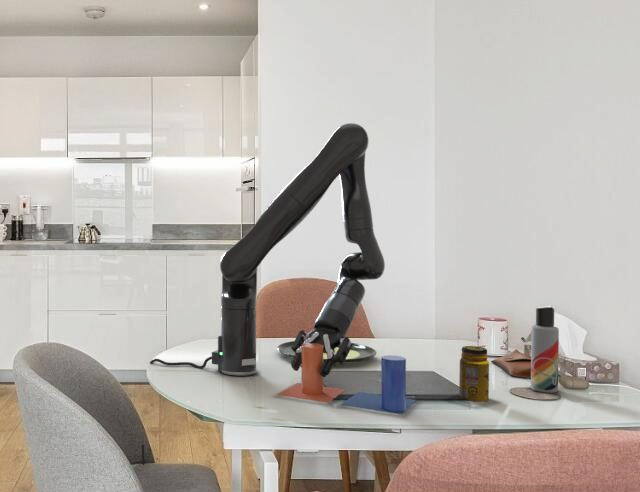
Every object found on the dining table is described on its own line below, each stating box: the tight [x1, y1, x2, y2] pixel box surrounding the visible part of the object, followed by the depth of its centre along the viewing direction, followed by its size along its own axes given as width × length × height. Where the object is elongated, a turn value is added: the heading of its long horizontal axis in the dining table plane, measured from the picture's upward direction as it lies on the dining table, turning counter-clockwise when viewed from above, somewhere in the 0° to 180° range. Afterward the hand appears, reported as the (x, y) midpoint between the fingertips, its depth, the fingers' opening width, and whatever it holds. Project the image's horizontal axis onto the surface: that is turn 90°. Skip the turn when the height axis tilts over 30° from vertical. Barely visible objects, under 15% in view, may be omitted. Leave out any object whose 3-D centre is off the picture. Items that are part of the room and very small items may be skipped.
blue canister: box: [380, 354, 407, 413], centre depth 153 cm, size 5×5×11 cm
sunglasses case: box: [490, 349, 531, 379], centre depth 191 cm, size 18×7×7 cm
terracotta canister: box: [300, 343, 324, 395], centre depth 167 cm, size 5×5×11 cm
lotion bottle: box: [530, 306, 560, 394], centre depth 171 cm, size 6×6×20 cm
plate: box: [276, 340, 378, 363], centre depth 208 cm, size 28×28×2 cm
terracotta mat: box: [276, 382, 346, 404], centre depth 167 cm, size 12×13×1 cm
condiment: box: [458, 345, 490, 403], centre depth 161 cm, size 7×8×12 cm
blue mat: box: [340, 391, 417, 415], centre depth 158 cm, size 13×13×1 cm
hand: (307, 371), depth 166 cm, fingers open, 7 cm apart
